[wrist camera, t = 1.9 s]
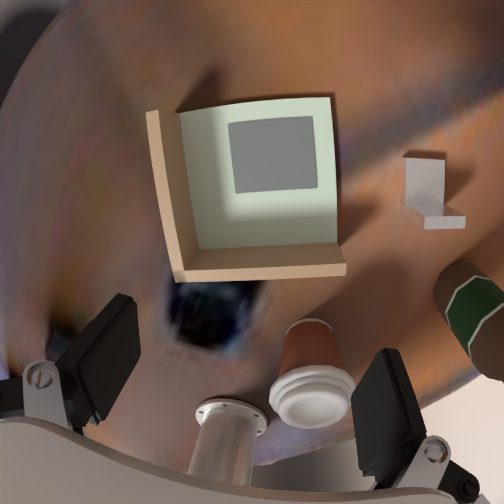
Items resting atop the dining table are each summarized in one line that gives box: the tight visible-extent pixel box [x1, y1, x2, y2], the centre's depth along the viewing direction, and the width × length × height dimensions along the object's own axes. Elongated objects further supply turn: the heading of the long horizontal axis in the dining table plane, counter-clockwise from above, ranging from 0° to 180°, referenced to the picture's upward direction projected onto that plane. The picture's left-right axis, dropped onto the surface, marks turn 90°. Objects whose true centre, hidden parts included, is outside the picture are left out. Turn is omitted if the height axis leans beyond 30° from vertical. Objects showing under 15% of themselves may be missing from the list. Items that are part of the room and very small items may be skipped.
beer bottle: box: [433, 261, 504, 383], centre depth 19 cm, size 8×8×24 cm
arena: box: [146, 97, 347, 282], centre depth 25 cm, size 16×16×6 cm
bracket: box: [401, 157, 466, 229], centre depth 23 cm, size 6×5×6 cm
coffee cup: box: [269, 318, 356, 429], centre depth 30 cm, size 9×9×12 cm
